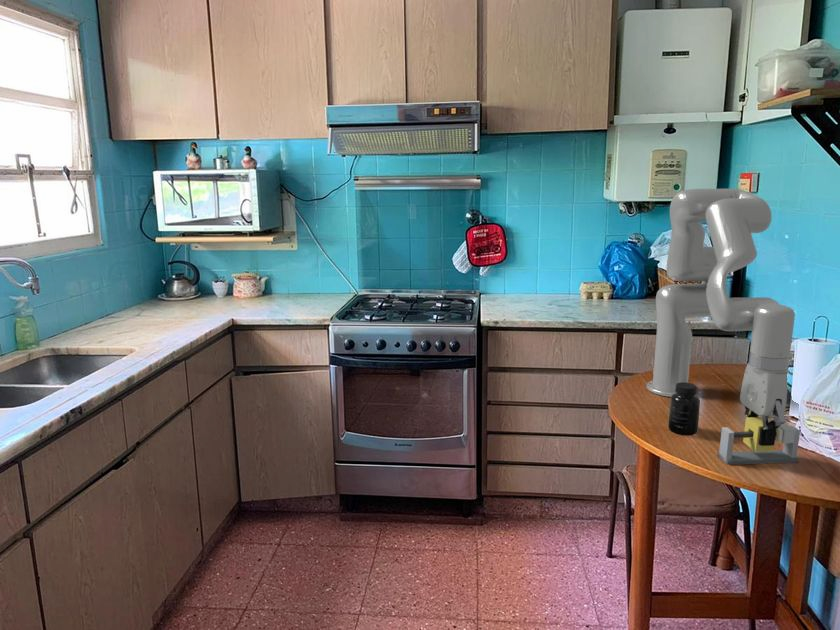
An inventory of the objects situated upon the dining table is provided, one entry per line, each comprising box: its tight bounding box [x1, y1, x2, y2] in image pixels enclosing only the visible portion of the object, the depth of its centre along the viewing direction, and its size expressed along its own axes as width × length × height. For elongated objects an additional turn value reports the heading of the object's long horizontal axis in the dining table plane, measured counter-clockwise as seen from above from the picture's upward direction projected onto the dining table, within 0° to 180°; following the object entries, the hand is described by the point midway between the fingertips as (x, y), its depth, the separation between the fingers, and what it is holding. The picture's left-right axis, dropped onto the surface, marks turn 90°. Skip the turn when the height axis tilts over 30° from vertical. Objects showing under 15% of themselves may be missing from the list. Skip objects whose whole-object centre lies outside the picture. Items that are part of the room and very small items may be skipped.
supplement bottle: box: [668, 382, 701, 437], centre depth 152 cm, size 7×7×12 cm
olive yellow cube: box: [742, 416, 775, 452], centre depth 137 cm, size 5×4×6 cm
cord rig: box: [716, 423, 801, 465], centre depth 137 cm, size 4×16×8 cm, turn 92°
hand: (758, 438), depth 137 cm, fingers closed on olive yellow cube, 5 cm apart
